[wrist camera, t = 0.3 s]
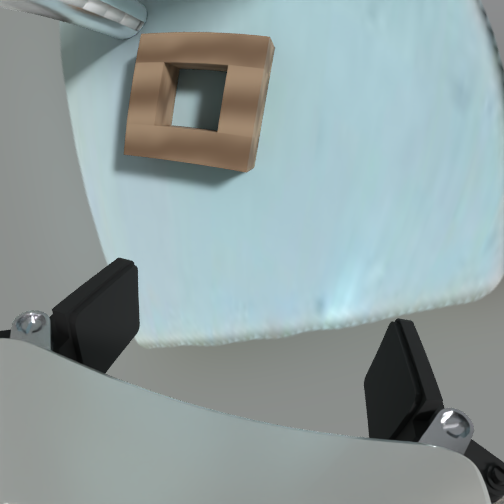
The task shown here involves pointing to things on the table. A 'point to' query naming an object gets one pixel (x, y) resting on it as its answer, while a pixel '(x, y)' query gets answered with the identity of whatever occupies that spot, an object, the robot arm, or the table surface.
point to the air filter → (89, 14)
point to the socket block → (233, 103)
